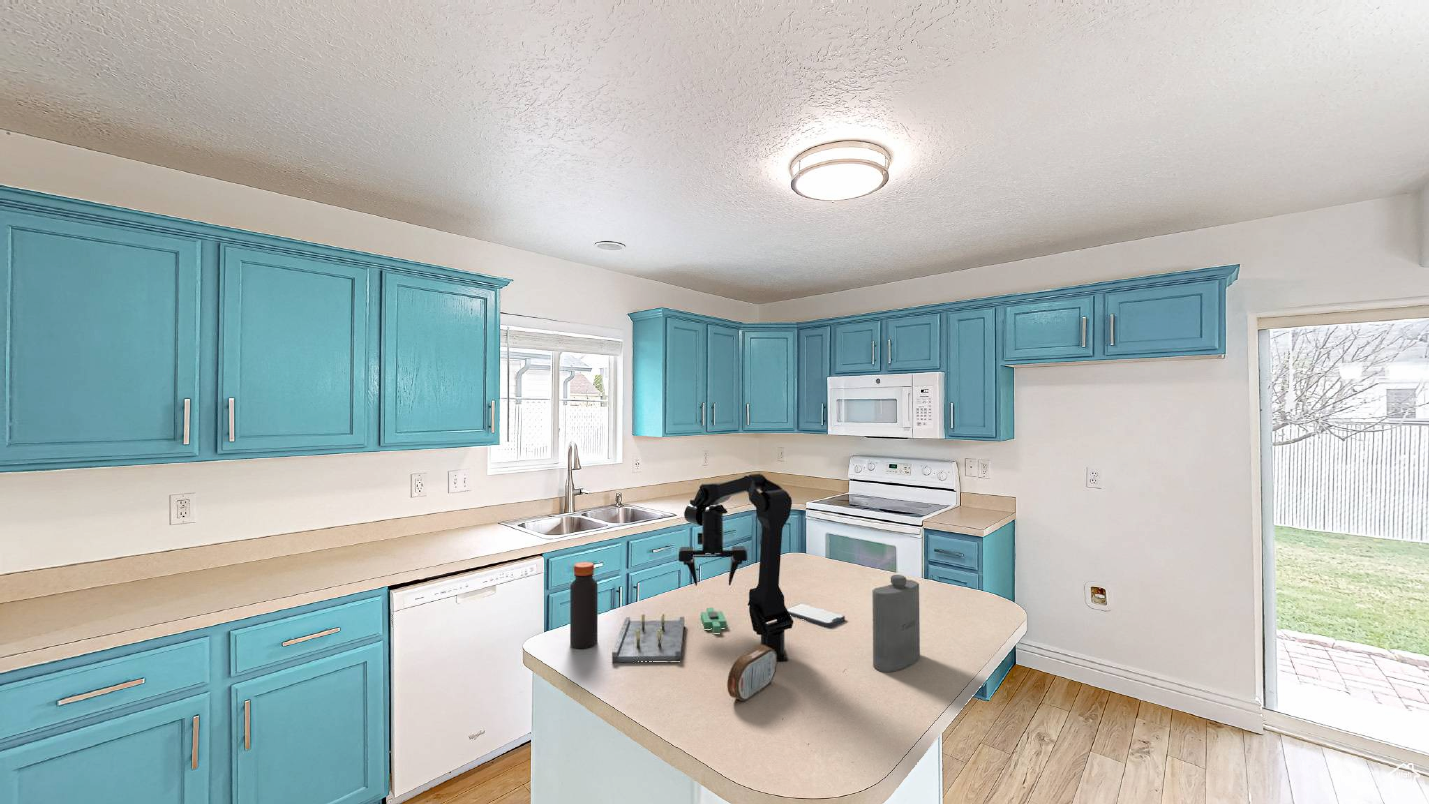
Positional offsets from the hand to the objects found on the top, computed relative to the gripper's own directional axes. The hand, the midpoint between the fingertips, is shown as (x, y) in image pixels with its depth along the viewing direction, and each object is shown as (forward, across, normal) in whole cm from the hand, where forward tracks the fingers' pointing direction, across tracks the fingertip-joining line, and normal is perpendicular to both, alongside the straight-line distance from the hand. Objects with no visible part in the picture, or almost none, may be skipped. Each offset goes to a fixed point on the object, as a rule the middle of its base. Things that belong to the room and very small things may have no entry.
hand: (712, 585), depth 153 cm
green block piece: (+11, 0, 0) cm, 11 cm away
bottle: (+11, +33, +12) cm, 37 cm away
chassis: (+11, +16, +12) cm, 23 cm away
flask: (+11, -43, +24) cm, 51 cm away
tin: (+11, -8, +37) cm, 39 cm away
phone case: (+12, -29, -5) cm, 32 cm away
